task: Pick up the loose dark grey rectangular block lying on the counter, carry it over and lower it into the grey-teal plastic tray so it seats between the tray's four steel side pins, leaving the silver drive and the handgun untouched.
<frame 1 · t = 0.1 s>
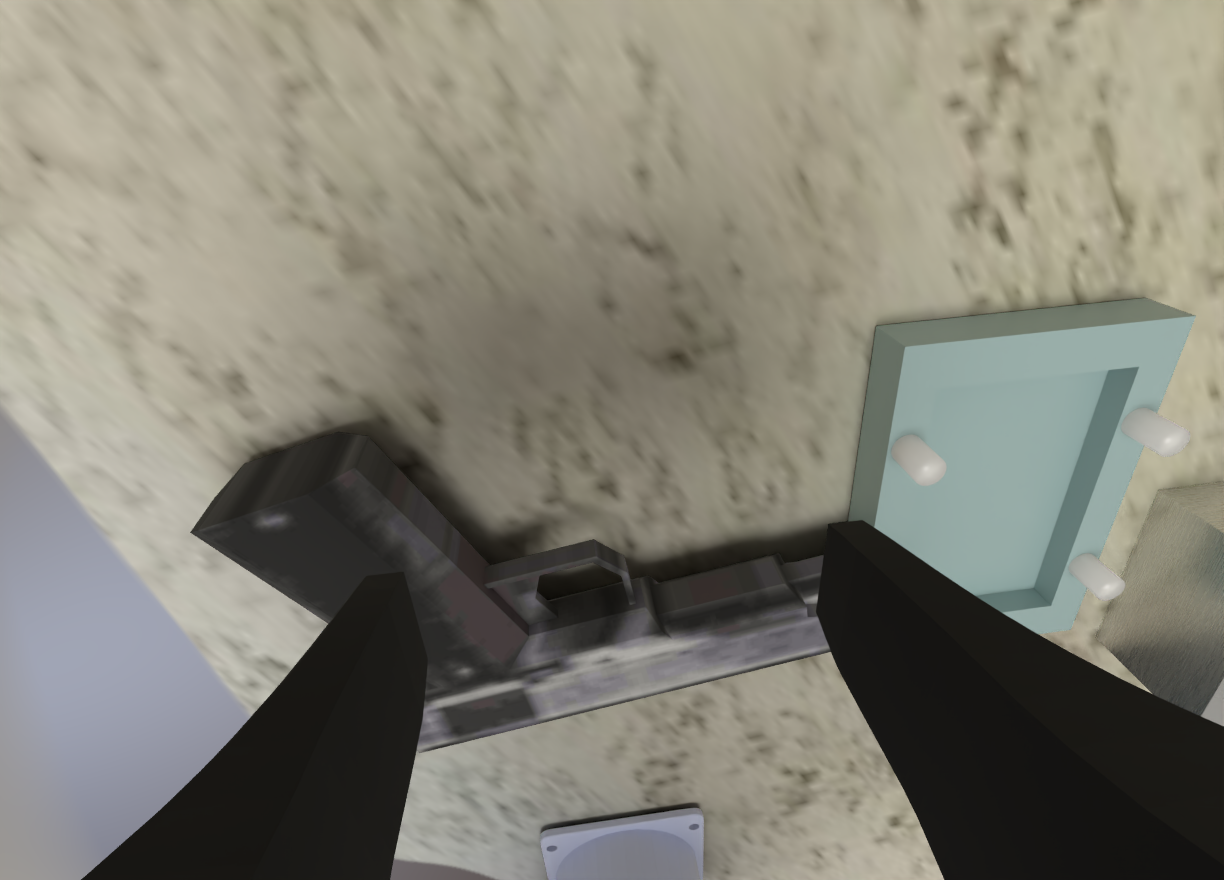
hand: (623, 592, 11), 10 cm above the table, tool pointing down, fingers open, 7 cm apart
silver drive: (1166, 560, 27), on the table
handgun: (591, 530, 23), on the table, touching tray
tray: (970, 482, 24), on the table
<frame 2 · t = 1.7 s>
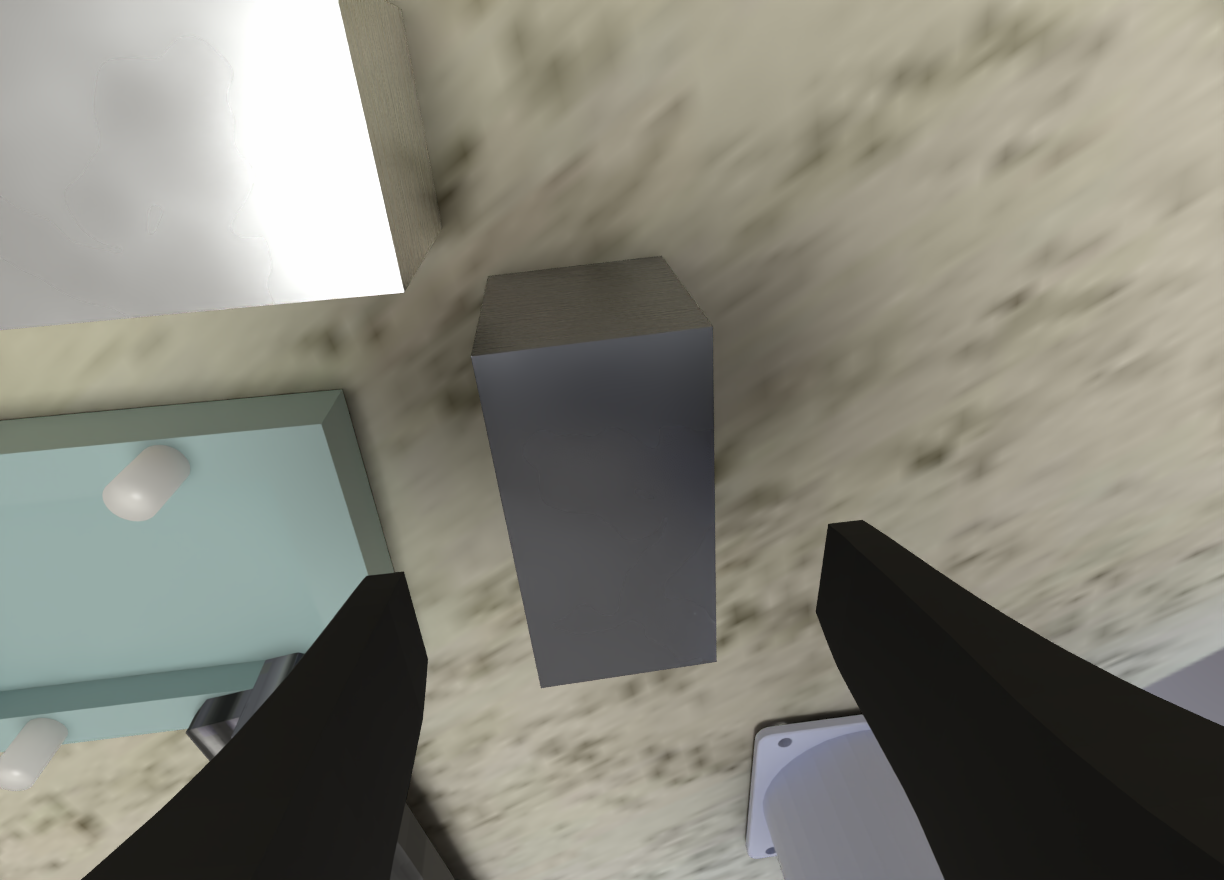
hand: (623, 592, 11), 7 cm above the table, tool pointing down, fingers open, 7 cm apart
dark grey rectangular block: (592, 417, 17), on the table
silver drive: (223, 142, 13), on the table
handgun: (284, 864, 24), on the table, touching tray
tray: (138, 563, 17), on the table
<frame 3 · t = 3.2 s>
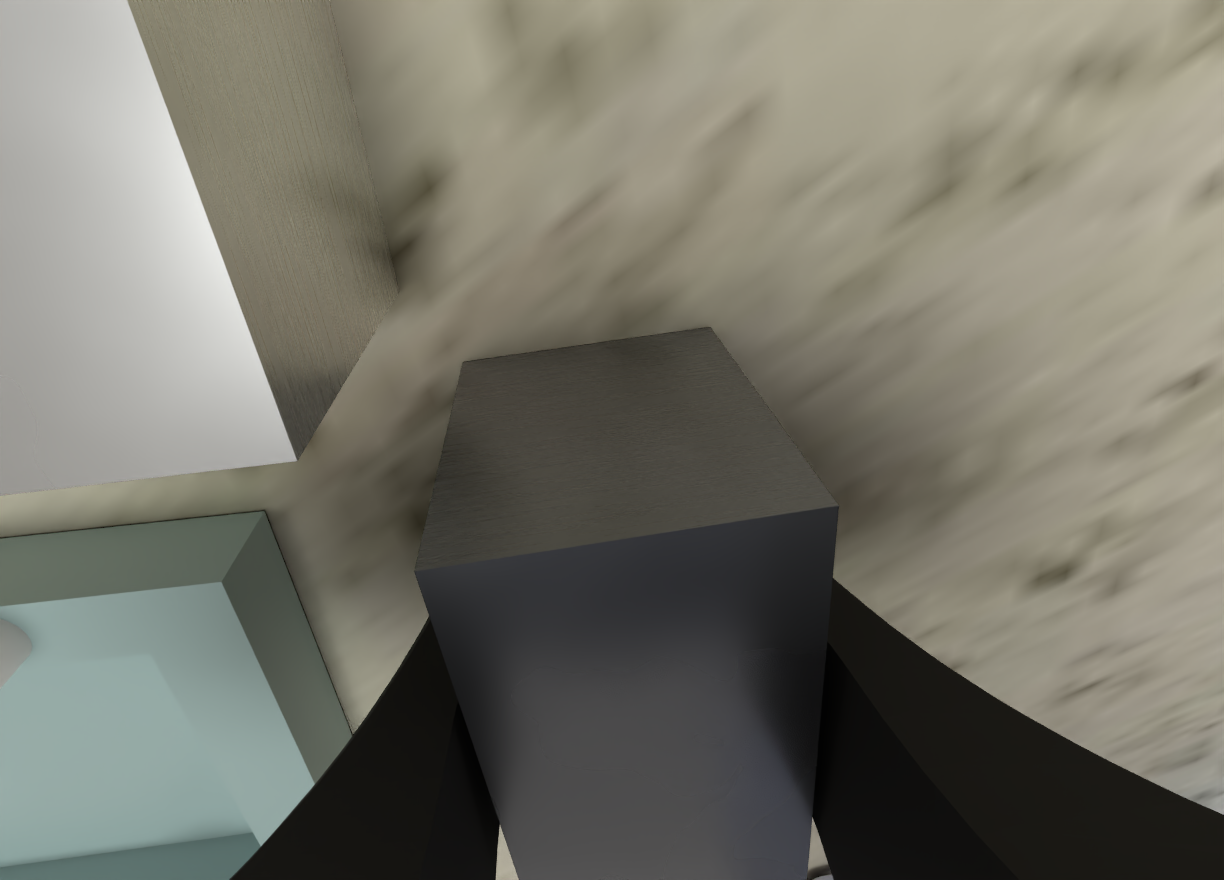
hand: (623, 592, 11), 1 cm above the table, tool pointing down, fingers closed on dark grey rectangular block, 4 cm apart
dark grey rectangular block: (613, 540, 12), on the table, touching gripper
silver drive: (57, 171, 8), on the table
tray: (0, 729, 13), on the table
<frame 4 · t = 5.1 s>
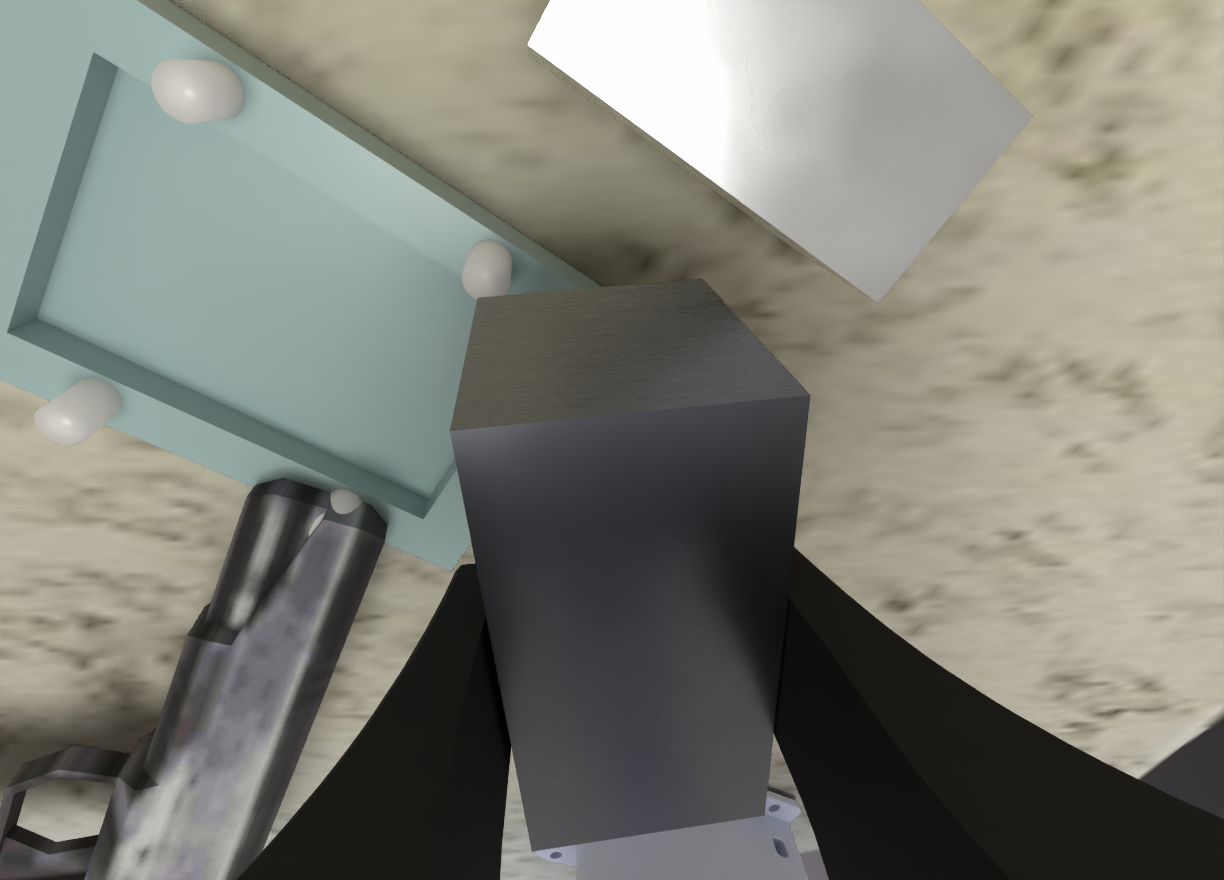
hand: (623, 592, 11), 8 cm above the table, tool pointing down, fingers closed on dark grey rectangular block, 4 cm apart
dark grey rectangular block: (604, 478, 13), point 6 cm above the table, touching gripper
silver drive: (720, 81, 15), on the table
handgun: (74, 735, 19), point 3 cm above the table, touching tray
tray: (313, 307, 17), on the table
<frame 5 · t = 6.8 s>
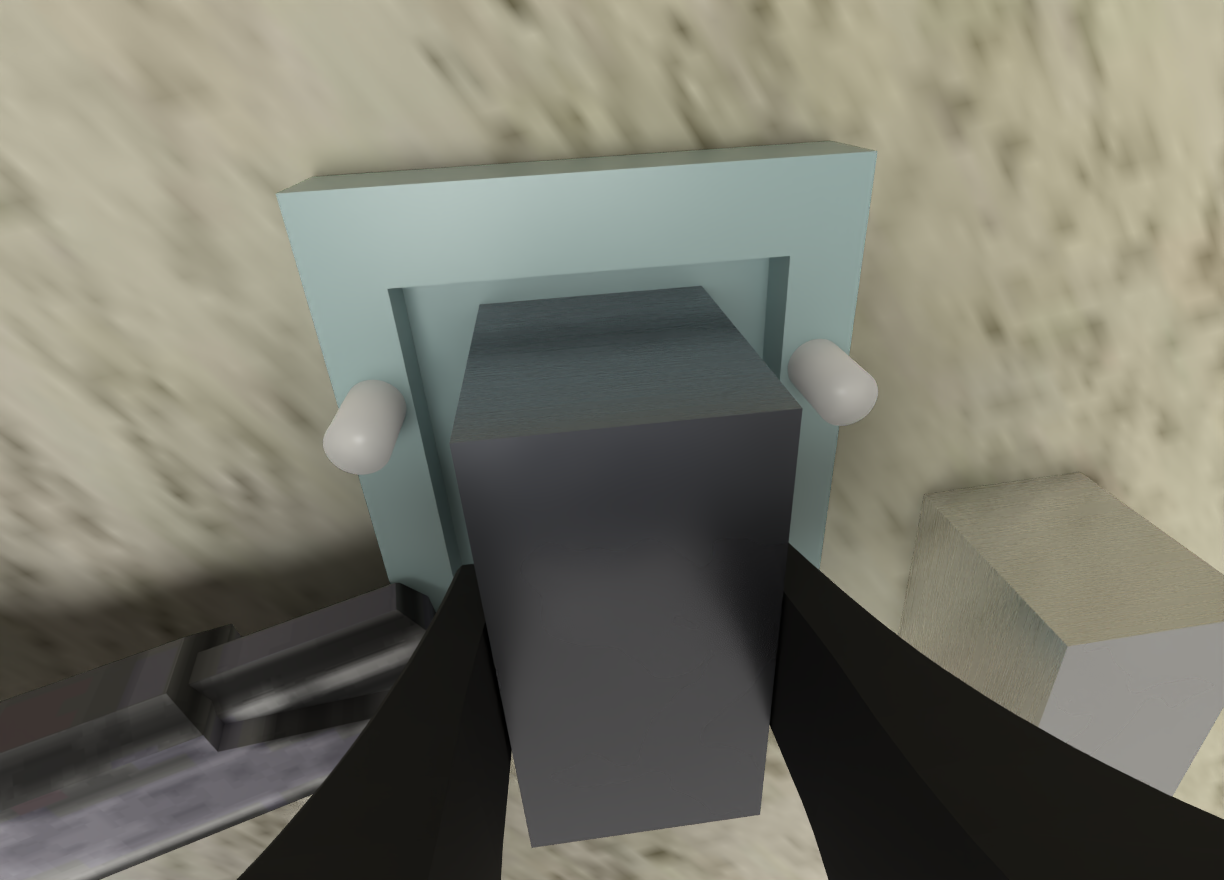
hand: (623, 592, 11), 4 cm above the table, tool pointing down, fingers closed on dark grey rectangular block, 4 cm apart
dark grey rectangular block: (604, 481, 14), point 1 cm above the table, touching gripper, tray
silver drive: (969, 599, 18), on the table
tray: (601, 474, 14), on the table
when the fingers open (4 cm above the table, at t = 7.4 s): dark grey rectangular block stays where it is, resting on tray.
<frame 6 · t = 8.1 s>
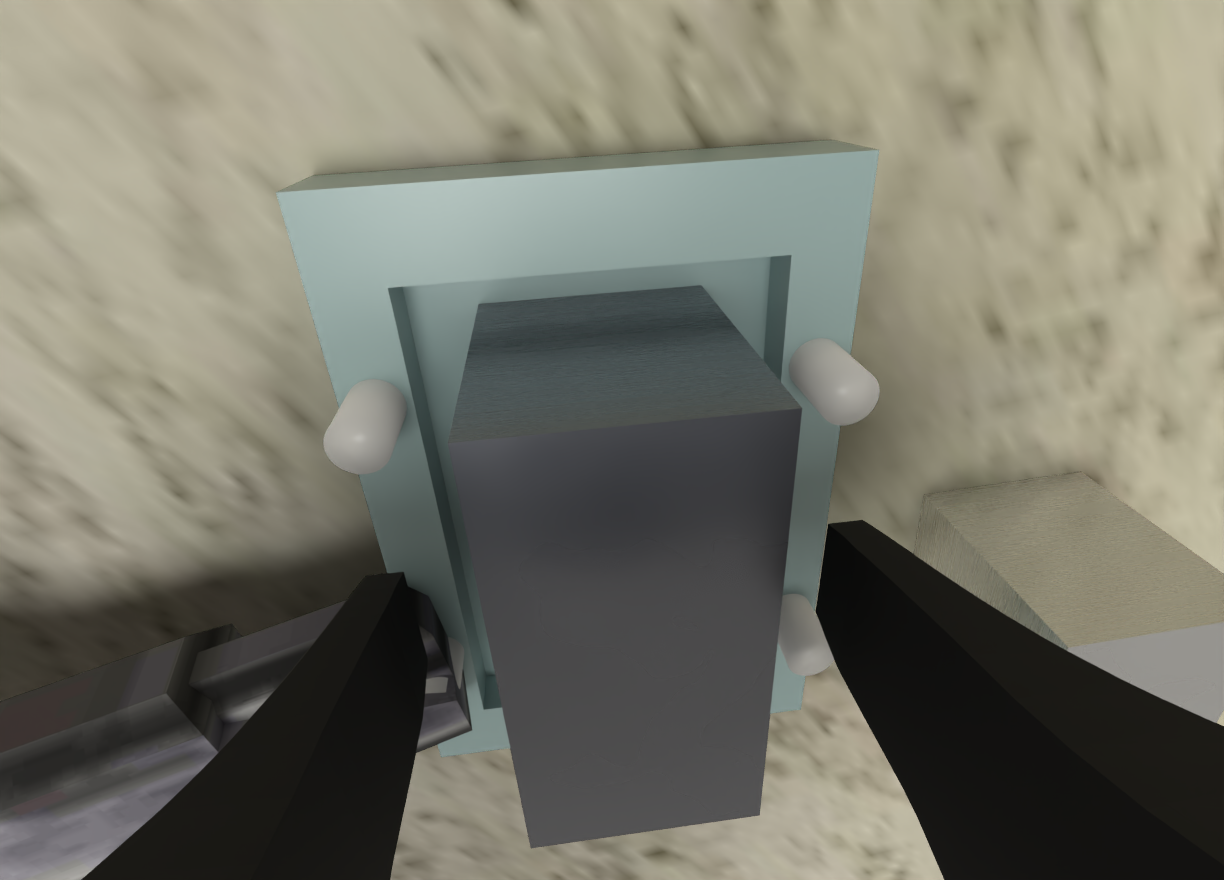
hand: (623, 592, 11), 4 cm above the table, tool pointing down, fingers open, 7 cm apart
dark grey rectangular block: (604, 481, 14), point 1 cm above the table, touching tray
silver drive: (970, 599, 18), on the table
tray: (601, 473, 14), on the table
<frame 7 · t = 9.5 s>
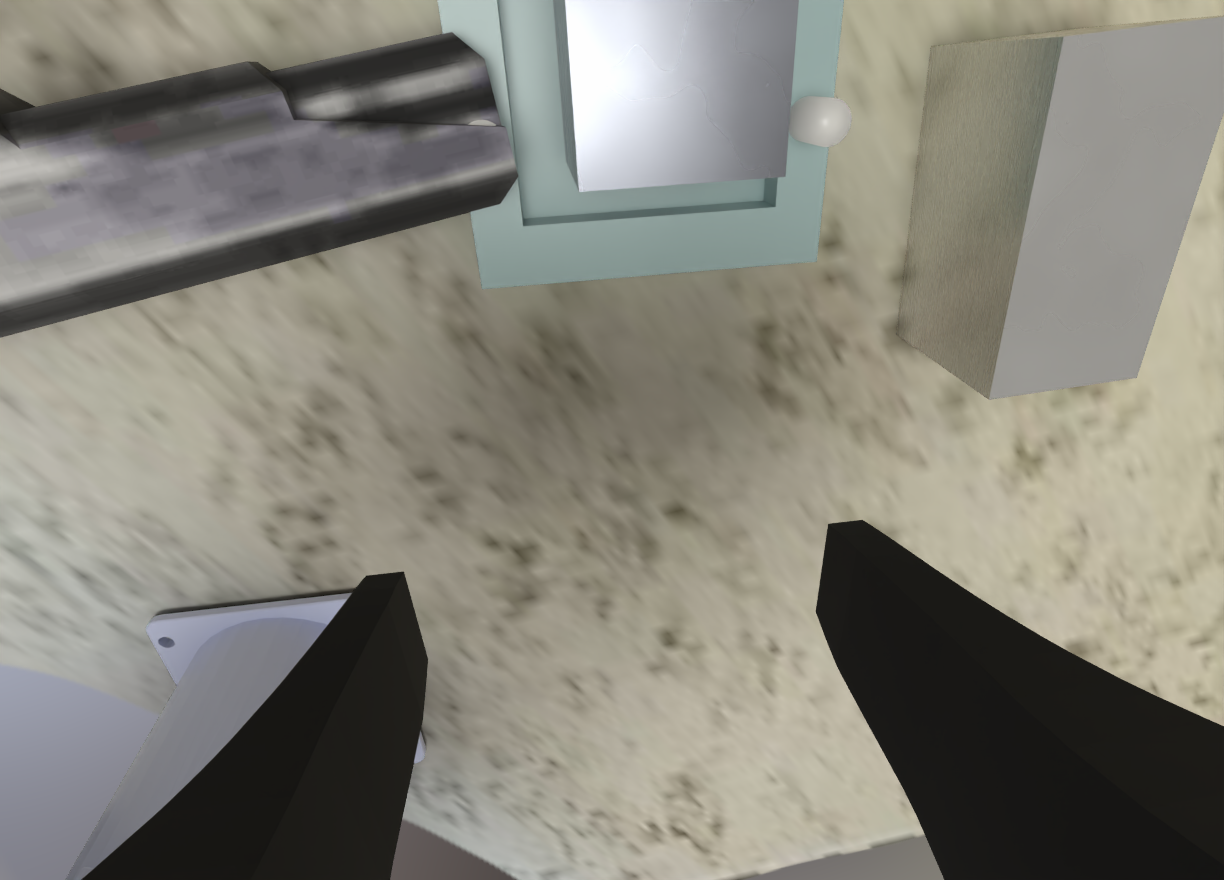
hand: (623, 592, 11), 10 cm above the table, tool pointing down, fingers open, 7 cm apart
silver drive: (975, 196, 19), on the table
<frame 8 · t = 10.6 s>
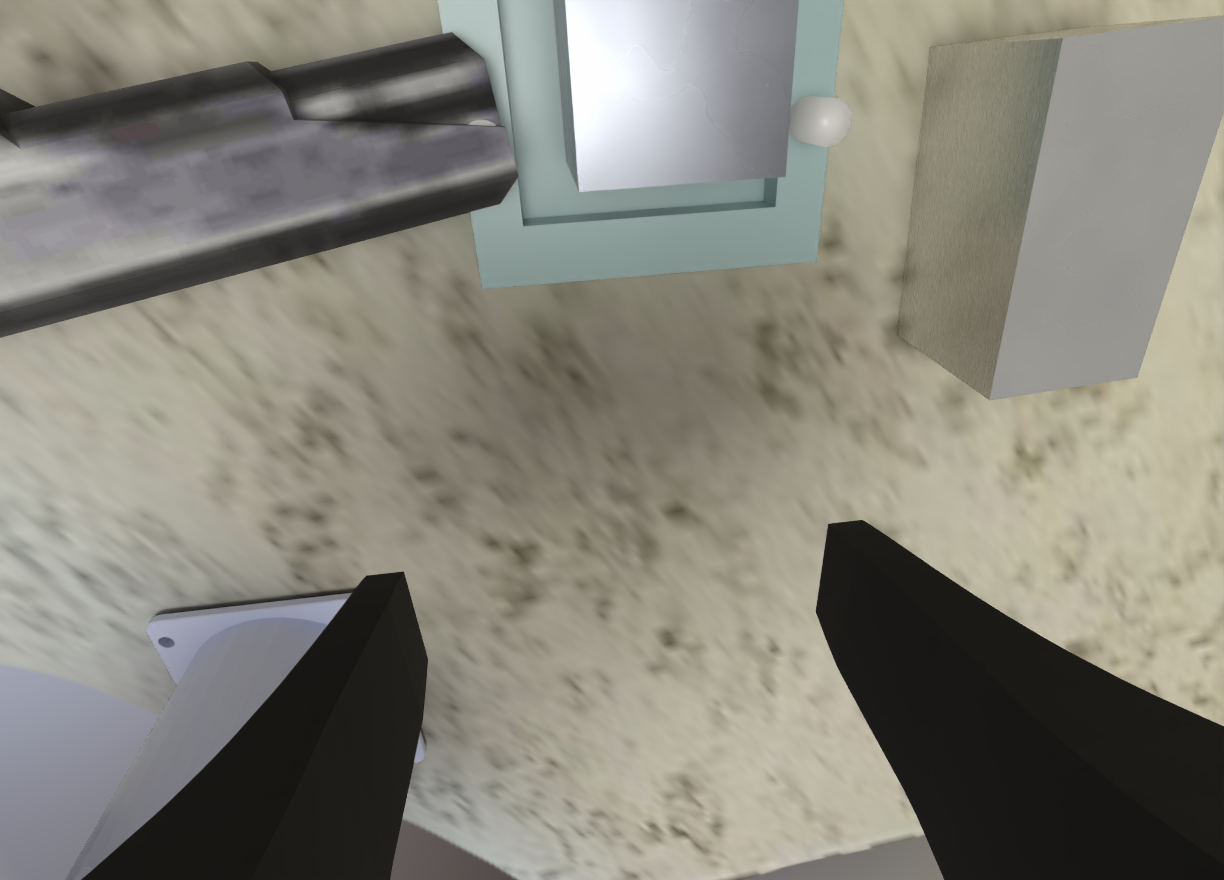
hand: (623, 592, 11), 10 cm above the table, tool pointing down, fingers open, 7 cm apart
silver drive: (975, 196, 19), on the table
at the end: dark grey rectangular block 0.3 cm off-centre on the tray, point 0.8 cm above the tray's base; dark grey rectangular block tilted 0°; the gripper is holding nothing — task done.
